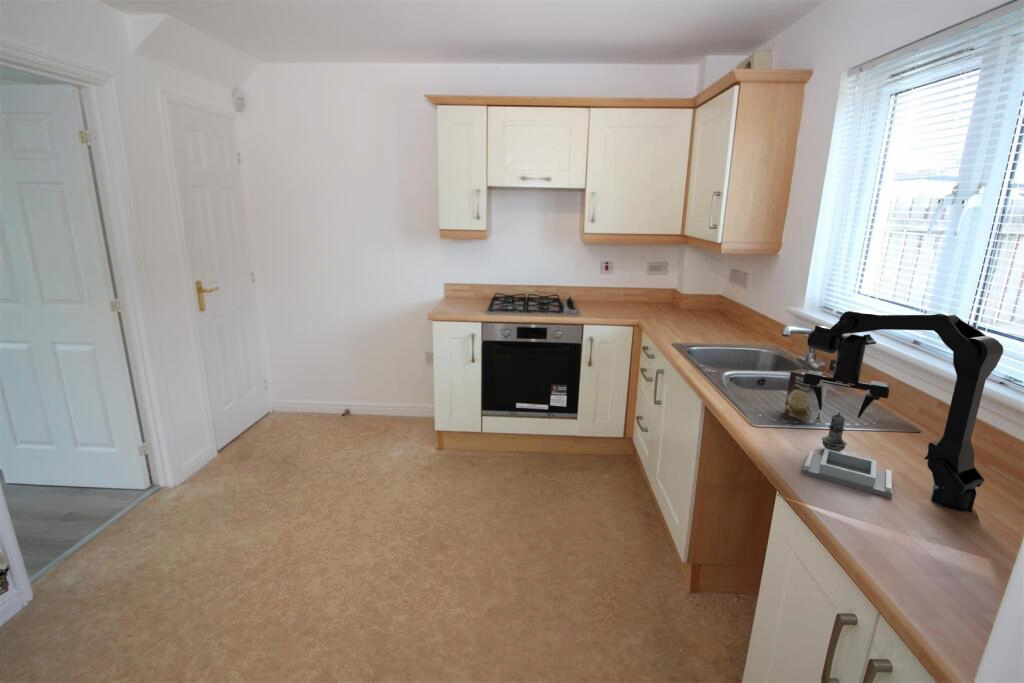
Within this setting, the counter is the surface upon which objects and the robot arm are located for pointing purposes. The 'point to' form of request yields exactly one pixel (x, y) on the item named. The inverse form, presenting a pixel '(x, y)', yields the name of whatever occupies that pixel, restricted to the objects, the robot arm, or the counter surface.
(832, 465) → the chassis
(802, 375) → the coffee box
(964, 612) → the counter surface
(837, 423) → the grey stone chess piece
